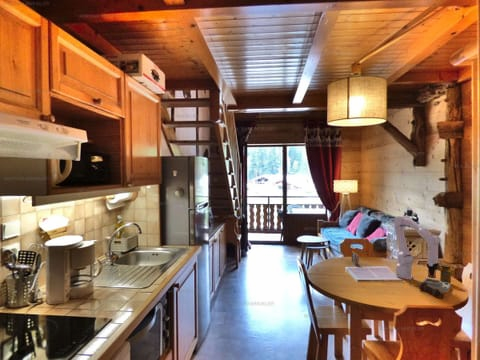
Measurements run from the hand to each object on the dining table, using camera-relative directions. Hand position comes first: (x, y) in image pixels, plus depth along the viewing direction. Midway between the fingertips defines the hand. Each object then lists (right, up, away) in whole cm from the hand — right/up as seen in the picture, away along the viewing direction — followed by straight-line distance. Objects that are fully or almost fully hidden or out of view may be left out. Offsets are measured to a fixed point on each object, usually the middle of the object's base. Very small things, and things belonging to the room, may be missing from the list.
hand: (432, 274), depth 202 cm
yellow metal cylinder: (+13, -9, +8) cm, 17 cm away
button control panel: (+2, -8, 0) cm, 9 cm away
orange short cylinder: (0, -2, 0) cm, 2 cm away
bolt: (-7, -9, -11) cm, 16 cm away
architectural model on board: (-31, -8, +53) cm, 62 cm away
